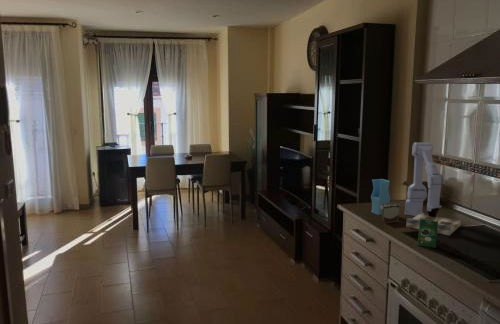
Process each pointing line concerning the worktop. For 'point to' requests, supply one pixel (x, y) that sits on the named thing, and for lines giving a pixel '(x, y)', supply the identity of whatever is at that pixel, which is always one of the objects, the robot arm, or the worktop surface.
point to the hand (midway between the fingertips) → (432, 221)
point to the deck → (444, 224)
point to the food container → (390, 212)
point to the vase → (379, 195)
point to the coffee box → (427, 232)
